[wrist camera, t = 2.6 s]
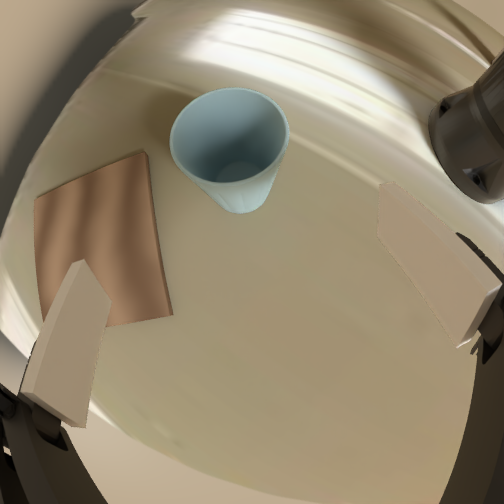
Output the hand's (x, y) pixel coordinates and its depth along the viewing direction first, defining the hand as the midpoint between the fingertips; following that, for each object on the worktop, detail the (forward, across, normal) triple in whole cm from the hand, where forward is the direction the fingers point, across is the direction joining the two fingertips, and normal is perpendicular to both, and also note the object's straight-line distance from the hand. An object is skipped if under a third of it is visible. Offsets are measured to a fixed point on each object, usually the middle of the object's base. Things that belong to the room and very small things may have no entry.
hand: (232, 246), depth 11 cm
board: (+15, -16, -6) cm, 23 cm away
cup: (+16, +1, -5) cm, 17 cm away
